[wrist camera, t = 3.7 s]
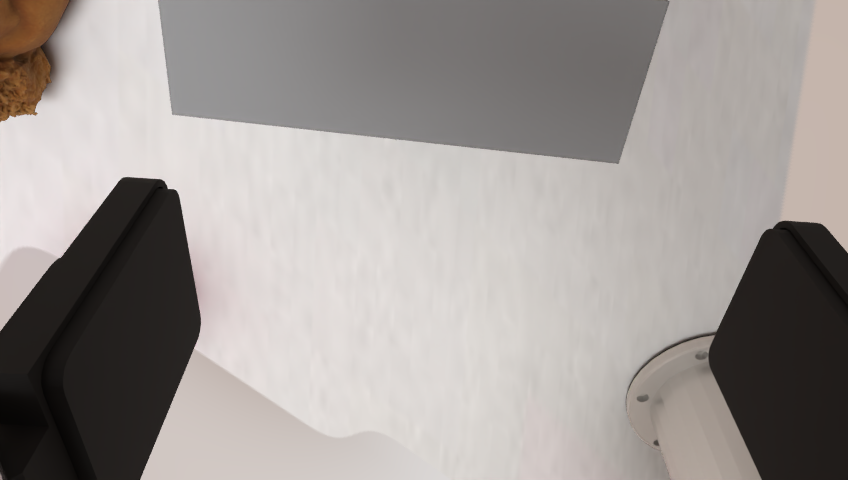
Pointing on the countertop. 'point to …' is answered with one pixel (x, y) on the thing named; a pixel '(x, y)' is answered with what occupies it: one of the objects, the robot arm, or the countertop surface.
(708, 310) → the countertop surface
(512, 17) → the panel
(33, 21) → the stuffed squirrel
